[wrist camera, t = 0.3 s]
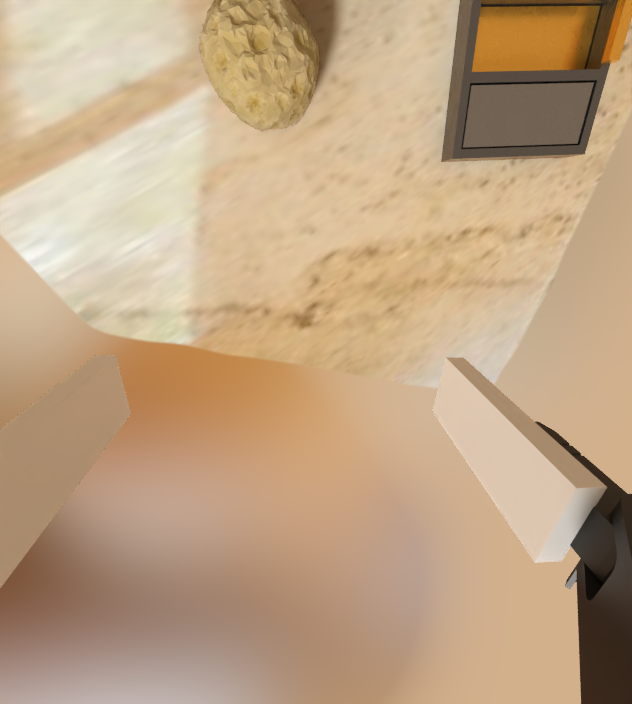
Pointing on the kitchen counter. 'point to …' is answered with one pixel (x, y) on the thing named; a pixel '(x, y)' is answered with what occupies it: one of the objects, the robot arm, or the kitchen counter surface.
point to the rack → (530, 76)
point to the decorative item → (260, 60)
